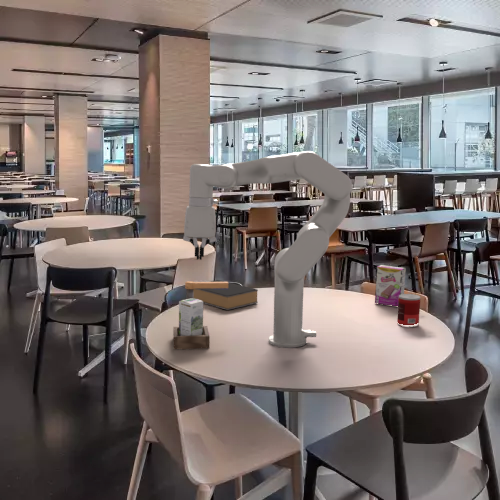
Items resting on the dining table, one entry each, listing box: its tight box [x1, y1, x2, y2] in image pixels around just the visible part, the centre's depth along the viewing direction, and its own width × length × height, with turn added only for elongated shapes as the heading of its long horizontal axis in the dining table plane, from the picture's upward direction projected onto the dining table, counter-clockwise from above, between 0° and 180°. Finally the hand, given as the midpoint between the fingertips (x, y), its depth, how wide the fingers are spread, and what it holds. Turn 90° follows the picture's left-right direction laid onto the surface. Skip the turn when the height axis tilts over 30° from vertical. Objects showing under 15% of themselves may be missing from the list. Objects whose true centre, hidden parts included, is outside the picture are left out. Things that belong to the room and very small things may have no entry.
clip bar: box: [184, 281, 229, 289], centre depth 196 cm, size 3×15×2 cm, turn 96°
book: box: [194, 279, 259, 311], centre depth 244 cm, size 17×25×7 cm
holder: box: [172, 289, 211, 350], centre depth 191 cm, size 11×18×16 cm, turn 8°
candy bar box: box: [374, 264, 407, 307], centre depth 242 cm, size 11×5×16 cm, turn 58°
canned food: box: [396, 293, 421, 325], centre depth 213 cm, size 8×8×11 cm
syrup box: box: [178, 298, 204, 336], centre depth 188 cm, size 6×6×14 cm
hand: (199, 258), depth 188 cm, fingers closed
